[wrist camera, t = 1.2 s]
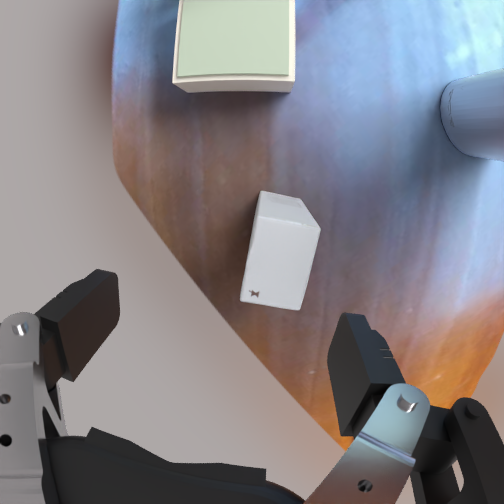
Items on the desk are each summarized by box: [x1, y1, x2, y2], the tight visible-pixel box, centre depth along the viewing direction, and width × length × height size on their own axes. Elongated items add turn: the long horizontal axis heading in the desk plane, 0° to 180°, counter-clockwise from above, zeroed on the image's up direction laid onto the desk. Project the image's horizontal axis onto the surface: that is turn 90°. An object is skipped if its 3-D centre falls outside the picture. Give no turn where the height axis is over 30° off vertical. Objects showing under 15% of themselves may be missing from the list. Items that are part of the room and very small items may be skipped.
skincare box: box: [240, 191, 321, 310], centre depth 24 cm, size 6×4×12 cm
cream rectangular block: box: [172, 0, 295, 93], centre depth 22 cm, size 10×10×5 cm
